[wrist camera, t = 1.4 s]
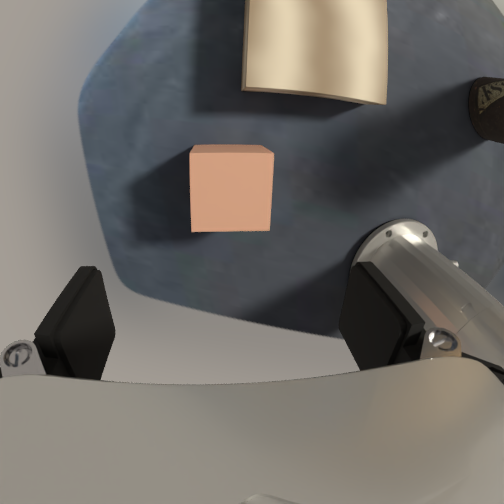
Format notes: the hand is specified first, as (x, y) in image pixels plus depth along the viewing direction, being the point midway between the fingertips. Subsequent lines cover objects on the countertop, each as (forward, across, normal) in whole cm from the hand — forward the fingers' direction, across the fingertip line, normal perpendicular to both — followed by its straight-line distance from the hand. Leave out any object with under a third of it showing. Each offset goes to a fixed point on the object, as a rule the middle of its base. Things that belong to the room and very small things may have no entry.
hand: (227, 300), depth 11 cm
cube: (+19, -1, -1) cm, 19 cm away
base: (+18, -8, -15) cm, 25 cm away
